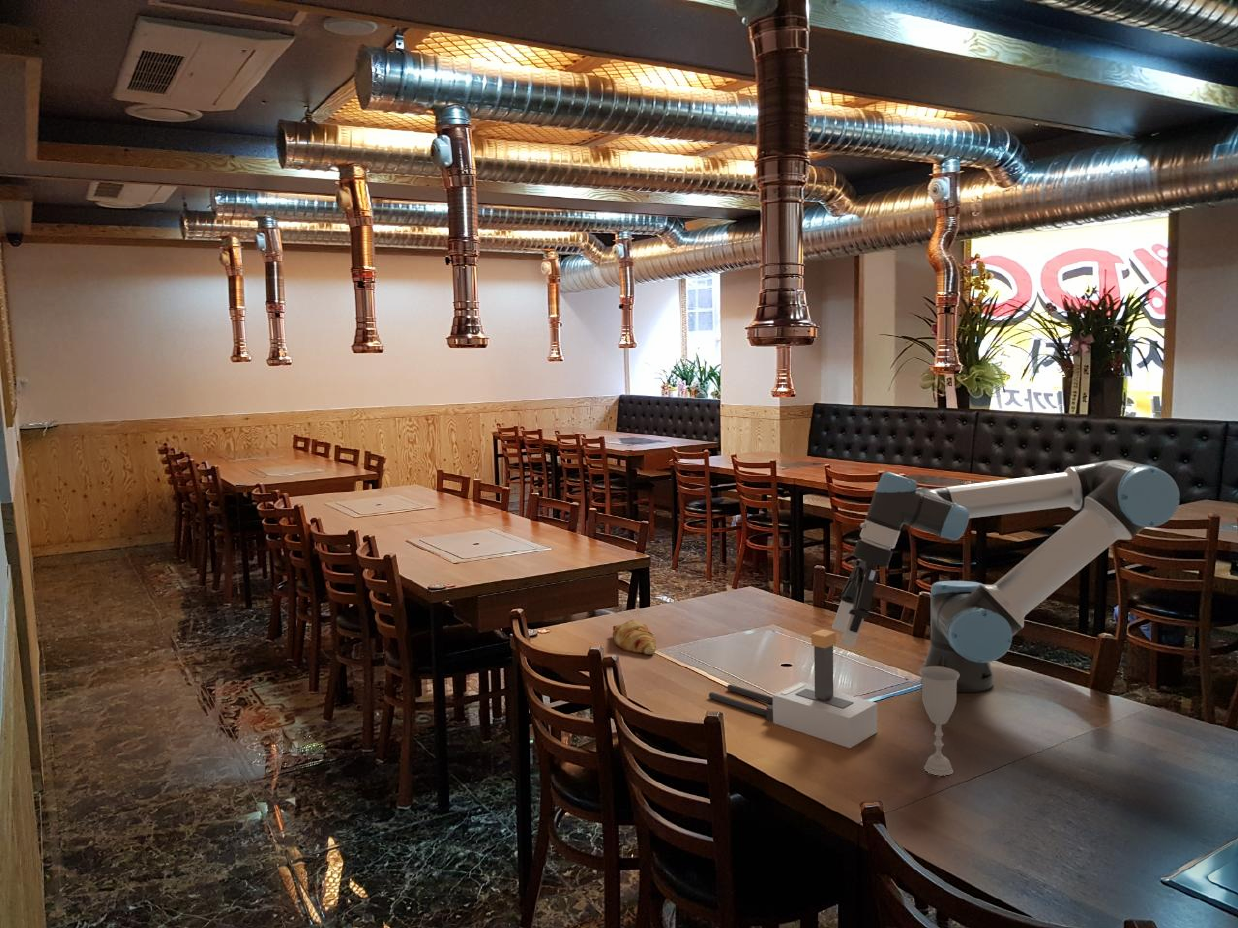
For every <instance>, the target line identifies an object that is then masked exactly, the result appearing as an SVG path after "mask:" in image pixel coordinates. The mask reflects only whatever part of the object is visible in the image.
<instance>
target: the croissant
mask: <svg viewBox="0 0 1238 928" xmlns="http://www.w3.org/2000/svg"><path fill="white" fill-rule="evenodd" d="M612 630H613V631H612V637H613V641H614V643H615V644H616V645H617V646H618V647H619V648H621V649H623V650H625V651H627V652H628V651H630V652H633V653H638V654H639V653H640V654H644V655H647V656H648V655H653V654H654V653H656V650H657V643H656V642H657V641H656V639H655V637H654V634H653V633H652V632H651V631H650V629H649V628H648V625H646V624H644V623H642V622H641V621H637V620H634V619H632V620H629V621H626V622H624V623H622V624H618V625H613V627H612Z"/></svg>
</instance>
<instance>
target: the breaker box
mask: <svg viewBox="0 0 1238 928" xmlns="http://www.w3.org/2000/svg"><path fill="white" fill-rule="evenodd" d="M772 697H773V704H772V705H773V721H772V723H773V724H776V725H779V726H781V727H784V728H788V729H791V730H794V731H796V732H800V733H802V734H805V735H808V736H812V737H815V738H818V739H821V740H824V741H827V742H829V743H834V744H836V745H839V746H842V747H845V748H848V749H852V748H853V747H856V746H857V745H858V744H860V743H862V742H863V741H865V740H867V739H868V738H870V737H871V736H873V735H875V734H876V733H878V703H877V702H874V701H871V700H868V699H864V698H860V697H857V696H853V695H850V694H846V693H843V692H839V691H835V690H833V696H832V697H830V698H828V699H826V700H823V699H819V698H816V697H815V684H811V683H807V682H804V681H800V682H797V683H795V684H793V685H791V686H788V687H787V688H784V689H782V690H780V691H778V692H775V693H774V694H773V693H772Z"/></svg>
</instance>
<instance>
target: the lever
mask: <svg viewBox="0 0 1238 928" xmlns="http://www.w3.org/2000/svg"><path fill="white" fill-rule="evenodd" d="M836 634H837V632H836V631H831V630H827V629H819V630H817V631H814V632H812V633H811V634H810V637H811V639H810V640H811V641H810V642H811V646H813V647H814V648H813V653H814V654H813V655H814V656H813V658H814V660H813V662H814V685H815V697H816V698H819V699H823V700H826V699H828V698H830V697H832V696H833V691H834V645H836V644H837V639H836V638H837V635H836Z"/></svg>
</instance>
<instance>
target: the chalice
mask: <svg viewBox="0 0 1238 928" xmlns="http://www.w3.org/2000/svg"><path fill="white" fill-rule="evenodd" d="M918 670H919V671H918V673H919V675H920V677H921V700H922V703H923V707H924V709H925V711H926V713H927V716H928V717H929V720H930V722H931V723H933V724H935V727H936V728H935V732H934V733H933V734H934V736H935V741H934V742H933V745H934V746H935V753H933V754H932V755H930V756H929V757H928V758H927V761H926V762H925V765H924V767H923V770H924V769H925V770H924V772H925V771H927V772H928V773H927V772H926V773H927V774H929V773H931V774H934V775H940V776H942V775H944V776H945V775H950V774H952V773H953V774H954V770H953V768H952V764H951V762H950V760H949V758H948V757H947V756H945V755H944V754H943V753H942V748H943V746H944V743H943V741H942V738H943V736H944V733H943V731H942V726H943V725H946V724H947V723H948V721H949V719H950V717H951V716H952V714H953V712H954V710H955V707H956V704H957V692H956V689H957V680H958V678H959V676H960V675H959V673H958V672H957V671H955V670H953V669H950V668H946V667H939V666H929V667H924V668H923V667H922V668H920V669H918ZM931 774H930V775H931ZM953 774H952V775H953ZM934 775H933V776H934ZM940 776H939V777H940ZM950 776H951V775H950ZM945 777H946V776H945Z"/></svg>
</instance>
